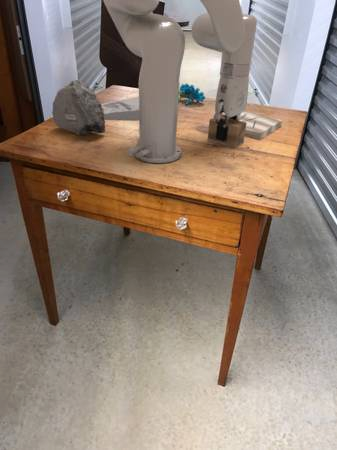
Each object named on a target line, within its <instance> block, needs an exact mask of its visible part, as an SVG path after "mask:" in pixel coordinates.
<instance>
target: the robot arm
mask: <svg viewBox="0 0 337 450" xmlns="http://www.w3.org/2000/svg"><path fill="white" fill-rule="evenodd" d="M199 1H200V2H201V3H202V5H203V6H204V8H205V10H206V11H207V12H204V13H201V14H200V15H198V16H197V17H196V18H195V19H194V21H193V22H192V25H191V28H190V29H191V32H190V33H191V37H192V39H193V41H194V42H195V43H196V44H197V45H199V46H200V47H202V48H205V49H209V50H212V51H215V52H219V53H221V61H220V67H219V68H220V69H219V82H218V84H217V85H218V86H217V90H216V96H215V97H216V98H215V105H214V106H215V107H214V112H215V113H214V116H213V118H214V119H215V121H216V125H217V130H216V139H218V140H221V141H226V139H227V132H228V127H227V124H228V120H229V118H231V119H234V120H238V121H239V116H240V114H241V113H242V112H243V111H246V109H247V103H248V95H249V81H250V80H249V79H250V78H249V76H250V71H251V64H252V57H253V50H254V45H255V39H256V31H257V24H258V20H257V17H256V16H255V15H253V14H247V13H243V10H242V6H241V1H240V0H199ZM103 3H104V6H105V8H106V9H107V12H108V13H109V15H110V18H111V19H112V22H113V23H114V25H115V28H116V30H117V31H118V33H119V35H120V37H121V39H122V41H123V42H124V44H125V47H127V49H128V50H129V51H130V52H131V53H132V54H134V55H135V56H137V57H140V58H142V59H141V66H140V70H139V74H138V75H139V77H138V96H139V121H138V124H139V125H138V132H139V134H138V137H139V138H138V139H136V144H135V146H132V147H130V148H128V149H127V151H126V153H127V155H128V157H133V156H135V157H136V158H137V159H139V160H140V161H142V162H147V163H151V164H166V163H171V162H174V161H176V160H178V159H180V158H181V156H182V149H181V147H180V146H179V145H178V144H177V128H178V113H179V112H178V111H179V110H178V109H179V104H178V103H179V102H178V100H179V99H178V95H180V94H179V90H180V84H179V82H180V79H181V78H180V76H181V68H182V63H183V59H184V54H185V49H186V37H185V33H184V30H183V28H182V27H181V25H180V24H179V23H178V22H177V21H176V20H175V19H173V18H172V17H169V16H166V15H162V14H158V13H153V11H155V9H156V8H157V7H158V5H159V3H160V0H103ZM223 113H224V114H223ZM222 117H225V121H224V120H223V119H222Z"/></svg>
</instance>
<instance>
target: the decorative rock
mask: <svg viewBox="0 0 337 450" xmlns="http://www.w3.org/2000/svg"><path fill="white" fill-rule="evenodd" d="M101 104H102V103H101V102H100V101H99V99H98V98H97V95H96V93H95V92H94V91H93V90H92V88H90V86H89V85H88V84H87V83H85V82H83V81H81V80H80V79H79V80H77V79H75V80H72V81H70V83H69V84H66V85H65V86H63V87H62V88H60V89H58V91H57V92H56V96H55V97H54V100H53V102H52V113H51V114H52V120H53V123H54V124H55V125H56V127H59V128H61V129H64V130H65V131H68V132H70V133H73V134H75V135H77V136H78V135H80V136H83V135H84V136H86V135H89V134H91V133H95V134H103V133H105V132H106V120H104V111H103V109H102V106H101Z"/></svg>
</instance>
